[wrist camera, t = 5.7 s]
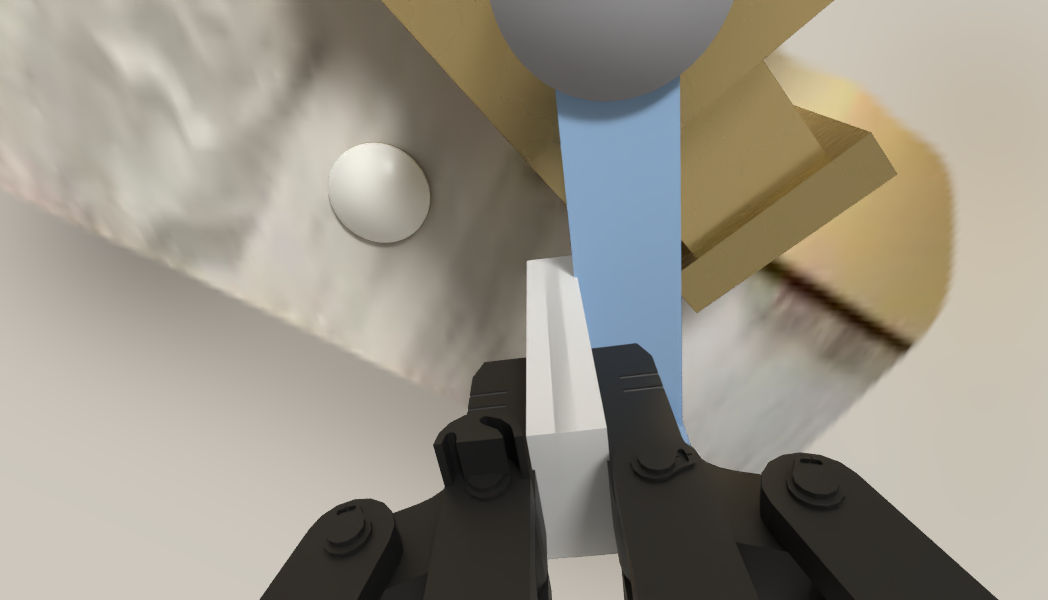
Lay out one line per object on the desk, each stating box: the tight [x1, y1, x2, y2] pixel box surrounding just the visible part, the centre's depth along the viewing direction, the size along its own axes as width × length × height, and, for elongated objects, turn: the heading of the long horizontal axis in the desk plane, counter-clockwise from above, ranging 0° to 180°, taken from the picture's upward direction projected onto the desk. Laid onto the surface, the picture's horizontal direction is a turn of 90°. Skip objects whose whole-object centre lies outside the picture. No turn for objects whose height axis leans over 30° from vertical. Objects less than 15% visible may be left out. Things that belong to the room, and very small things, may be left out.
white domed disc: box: [328, 142, 430, 243], centre depth 24 cm, size 4×4×1 cm
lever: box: [490, 0, 734, 446], centre depth 13 cm, size 15×4×4 cm, turn 8°
